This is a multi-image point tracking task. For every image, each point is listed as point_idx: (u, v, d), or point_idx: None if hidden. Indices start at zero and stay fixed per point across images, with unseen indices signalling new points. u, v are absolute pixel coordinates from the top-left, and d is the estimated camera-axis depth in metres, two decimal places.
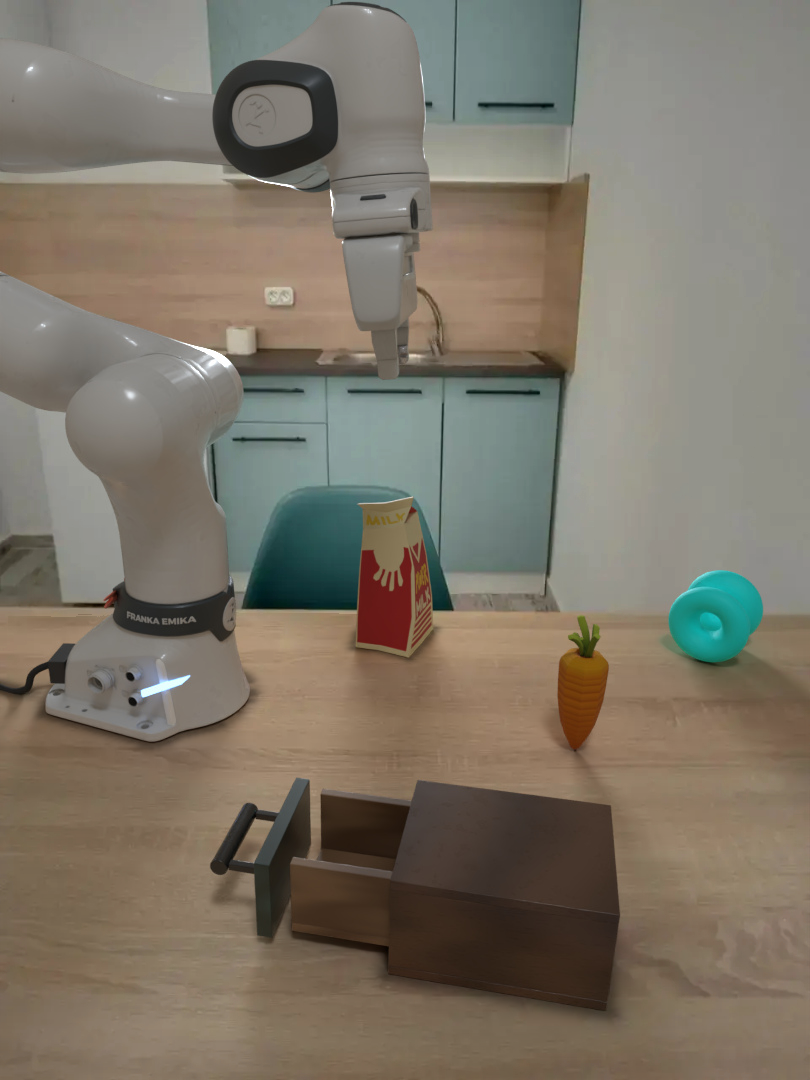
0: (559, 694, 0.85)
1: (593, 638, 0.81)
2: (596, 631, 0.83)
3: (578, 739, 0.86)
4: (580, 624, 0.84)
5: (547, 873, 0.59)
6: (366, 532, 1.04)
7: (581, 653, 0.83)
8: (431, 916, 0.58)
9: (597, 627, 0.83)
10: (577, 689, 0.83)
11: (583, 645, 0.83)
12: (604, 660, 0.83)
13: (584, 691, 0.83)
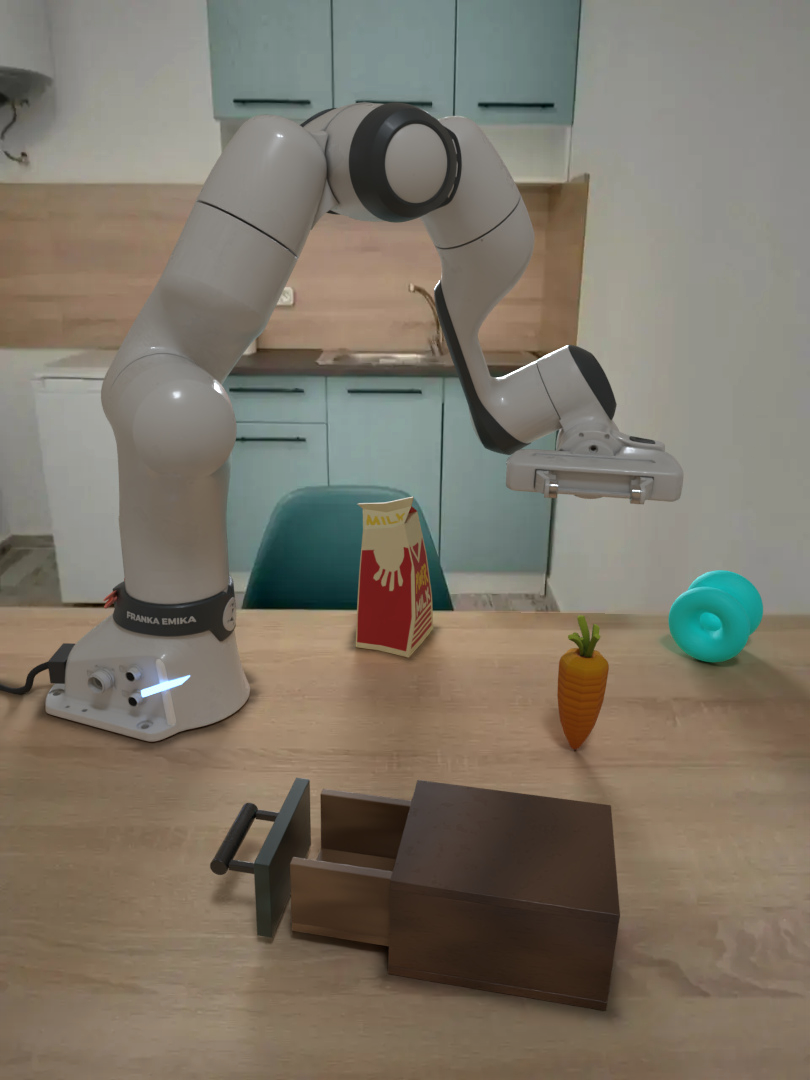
0: (559, 694, 0.85)
1: (593, 638, 0.81)
2: (596, 631, 0.83)
3: (578, 739, 0.86)
4: (580, 624, 0.84)
5: (547, 873, 0.59)
6: (366, 532, 1.04)
7: (581, 653, 0.83)
8: (431, 916, 0.58)
9: (597, 627, 0.83)
10: (577, 689, 0.83)
11: (583, 645, 0.83)
12: (604, 660, 0.83)
13: (584, 691, 0.83)
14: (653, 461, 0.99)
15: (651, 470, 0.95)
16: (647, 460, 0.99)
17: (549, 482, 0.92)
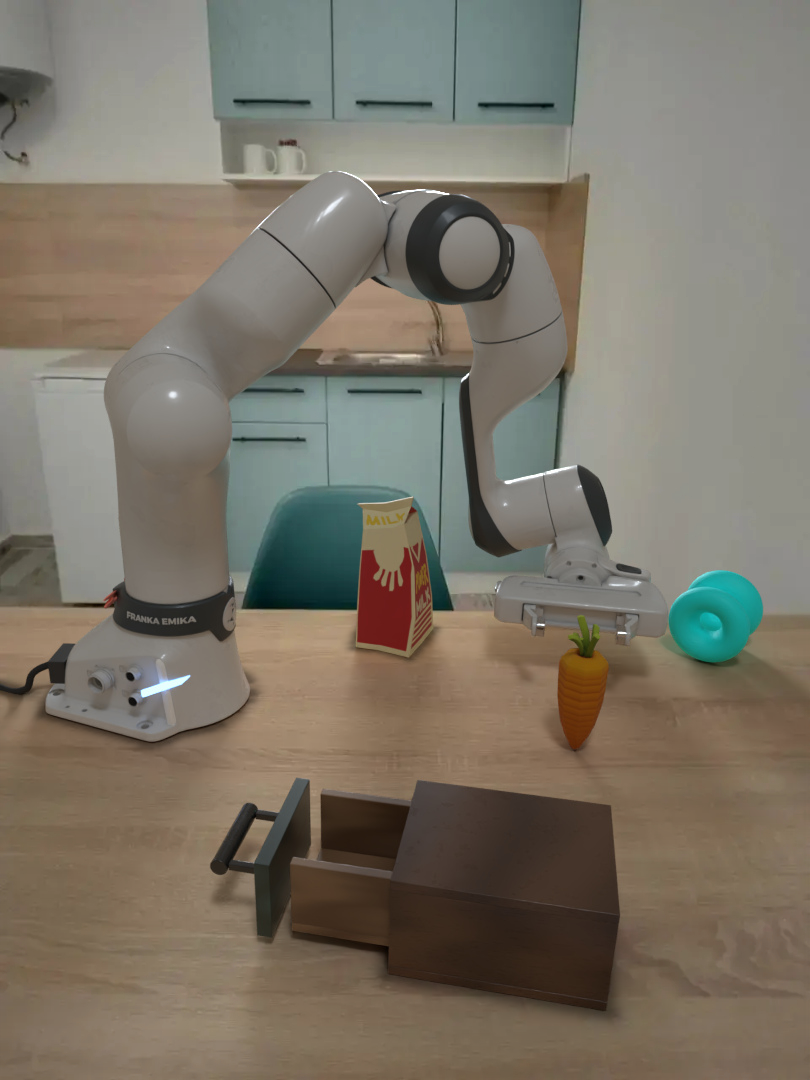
0: (559, 694, 0.85)
1: (593, 638, 0.81)
2: (596, 631, 0.83)
3: (578, 739, 0.86)
4: (580, 624, 0.84)
5: (547, 873, 0.59)
6: (366, 532, 1.04)
7: (581, 653, 0.83)
8: (431, 916, 0.58)
9: (597, 627, 0.83)
10: (577, 689, 0.83)
11: (583, 645, 0.83)
12: (604, 660, 0.83)
13: (584, 691, 0.83)
14: (639, 593, 1.00)
15: (636, 607, 0.96)
16: (633, 591, 1.01)
17: (536, 621, 0.94)
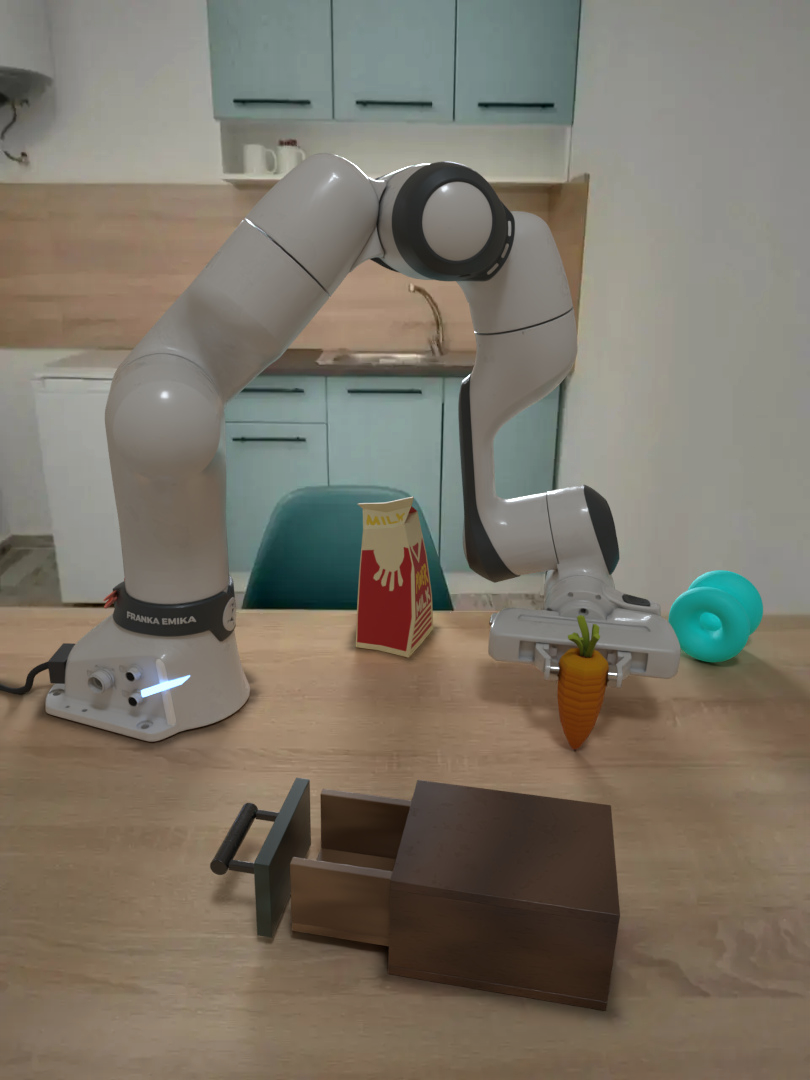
0: (559, 694, 0.85)
1: (593, 638, 0.81)
2: (596, 631, 0.83)
3: (578, 739, 0.86)
4: (580, 624, 0.84)
5: (547, 873, 0.59)
6: (366, 532, 1.04)
7: (581, 653, 0.83)
8: (431, 916, 0.58)
9: (597, 627, 0.83)
10: (577, 689, 0.83)
11: (583, 645, 0.83)
12: (604, 660, 0.83)
13: (584, 691, 0.83)
14: (648, 628, 0.91)
15: (645, 645, 0.87)
16: (641, 626, 0.92)
17: (550, 664, 0.84)
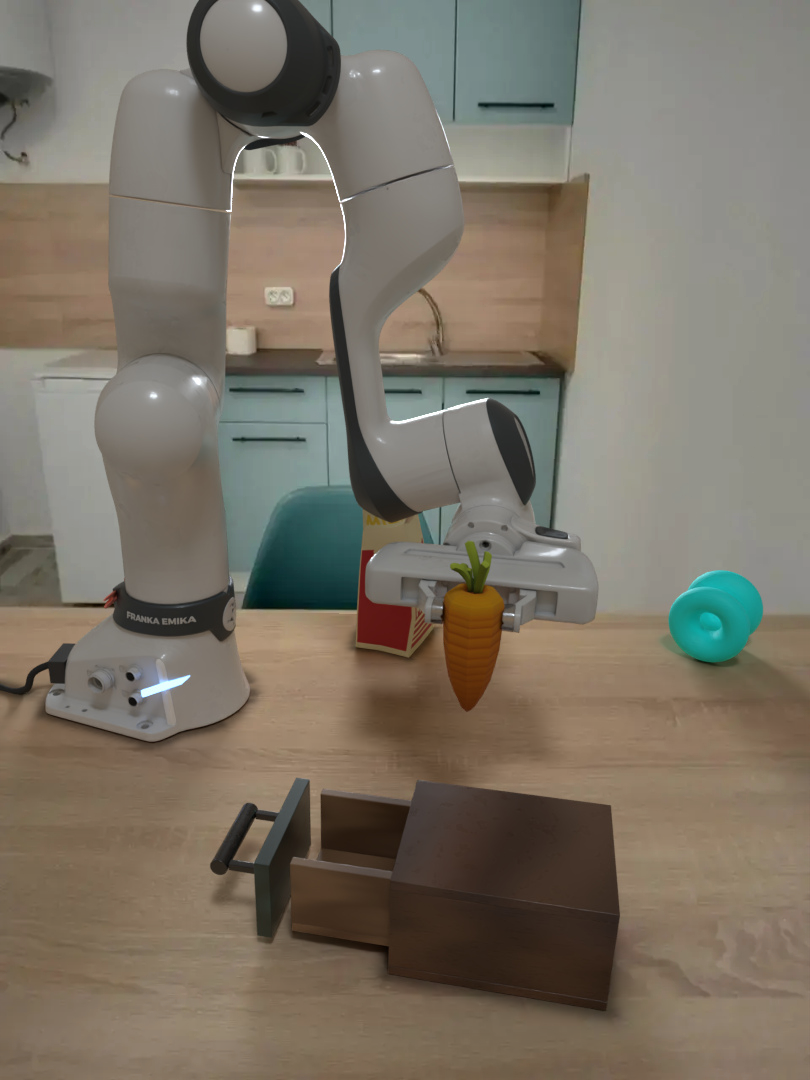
0: (444, 641, 0.68)
1: (480, 567, 0.64)
2: (487, 560, 0.66)
3: (469, 697, 0.69)
4: (468, 552, 0.66)
5: (547, 873, 0.59)
6: (366, 532, 1.04)
7: (469, 588, 0.66)
8: (431, 916, 0.58)
9: (489, 555, 0.66)
10: (463, 632, 0.66)
11: (471, 578, 0.66)
12: (498, 597, 0.66)
13: (471, 636, 0.65)
14: (562, 565, 0.74)
15: (555, 582, 0.70)
16: (555, 562, 0.74)
17: (431, 603, 0.67)
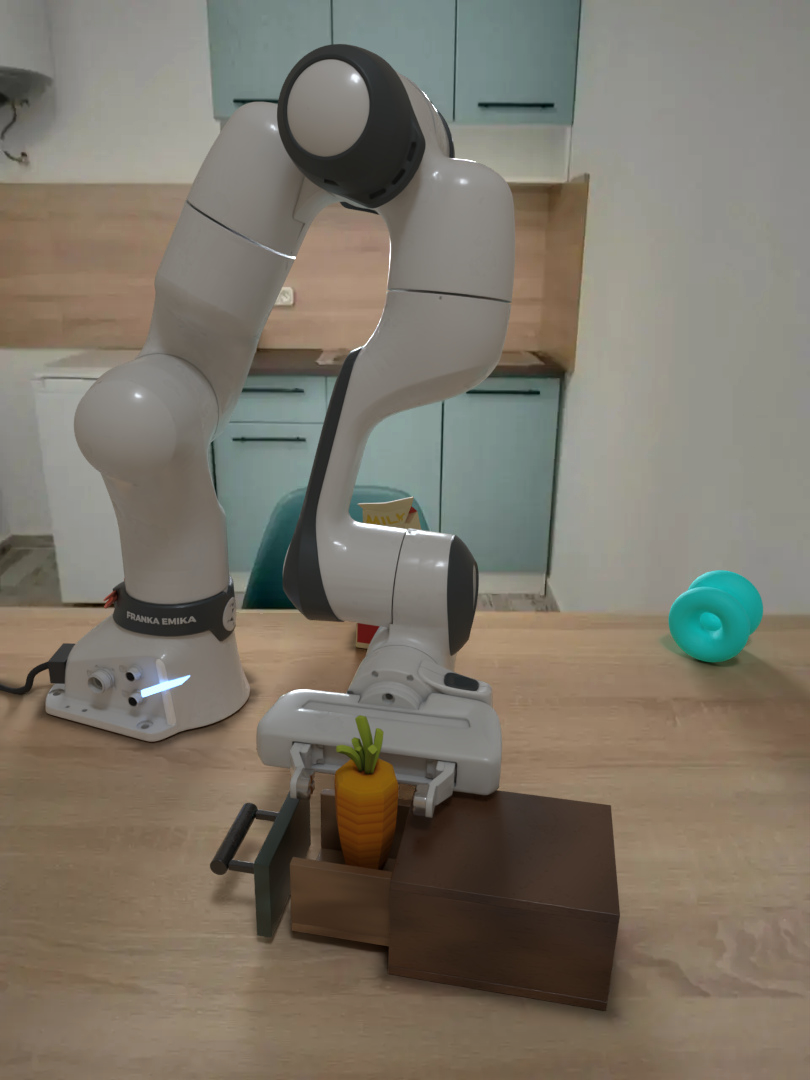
0: None
1: (367, 752, 0.59)
2: (378, 739, 0.61)
3: None
4: (359, 728, 0.62)
5: (547, 873, 0.59)
6: None
7: (359, 768, 0.61)
8: (431, 916, 0.58)
9: (380, 733, 0.61)
10: (352, 817, 0.61)
11: (361, 757, 0.61)
12: (390, 777, 0.61)
13: (361, 821, 0.61)
14: (469, 722, 0.69)
15: (454, 751, 0.65)
16: (462, 719, 0.69)
17: (297, 778, 0.63)
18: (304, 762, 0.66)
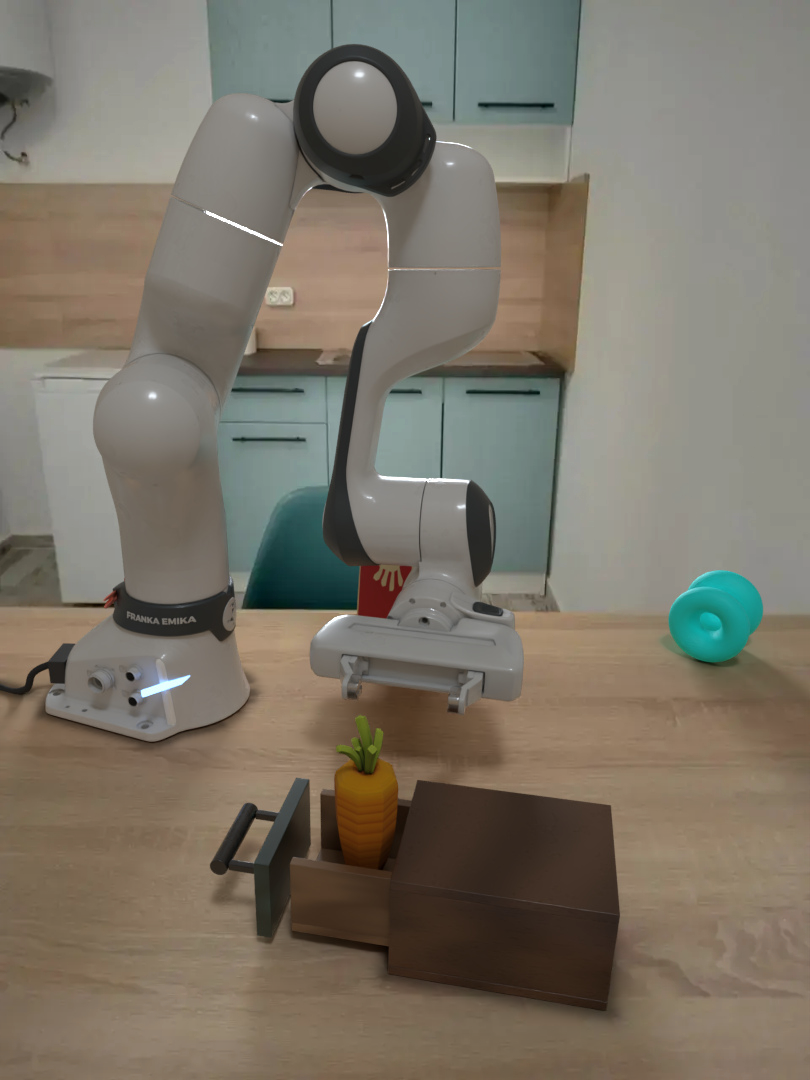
0: None
1: (367, 752, 0.59)
2: (378, 739, 0.61)
3: None
4: (359, 728, 0.62)
5: (547, 873, 0.59)
6: None
7: (358, 768, 0.61)
8: (431, 916, 0.58)
9: (379, 733, 0.61)
10: (352, 817, 0.61)
11: (361, 757, 0.61)
12: (390, 777, 0.61)
13: (361, 821, 0.61)
14: (494, 642, 0.79)
15: (482, 662, 0.75)
16: (488, 639, 0.80)
17: (348, 681, 0.73)
18: (352, 671, 0.76)
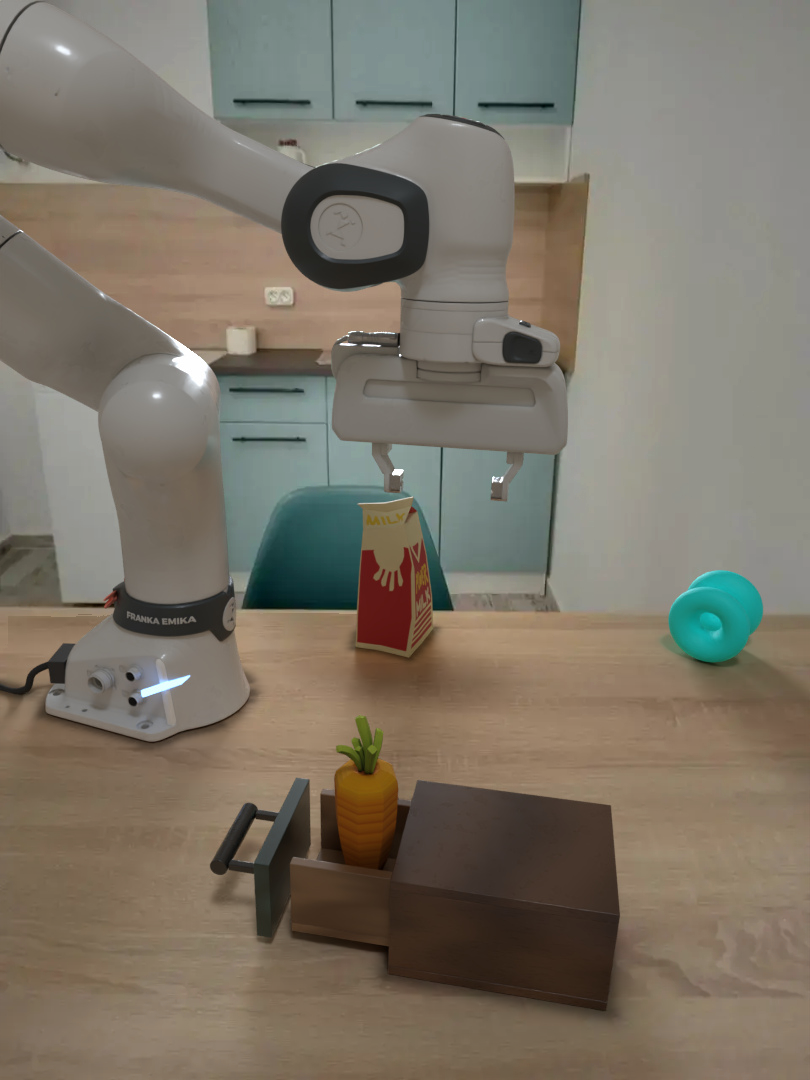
0: None
1: (367, 752, 0.59)
2: (378, 739, 0.61)
3: None
4: (359, 728, 0.62)
5: (547, 873, 0.59)
6: (366, 532, 1.04)
7: (358, 768, 0.61)
8: (431, 916, 0.58)
9: (380, 733, 0.61)
10: (352, 817, 0.61)
11: (361, 757, 0.61)
12: (390, 777, 0.61)
13: (361, 821, 0.61)
14: (534, 394, 0.67)
15: (521, 447, 0.69)
16: (526, 388, 0.67)
17: (389, 488, 0.73)
18: None
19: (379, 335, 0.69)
